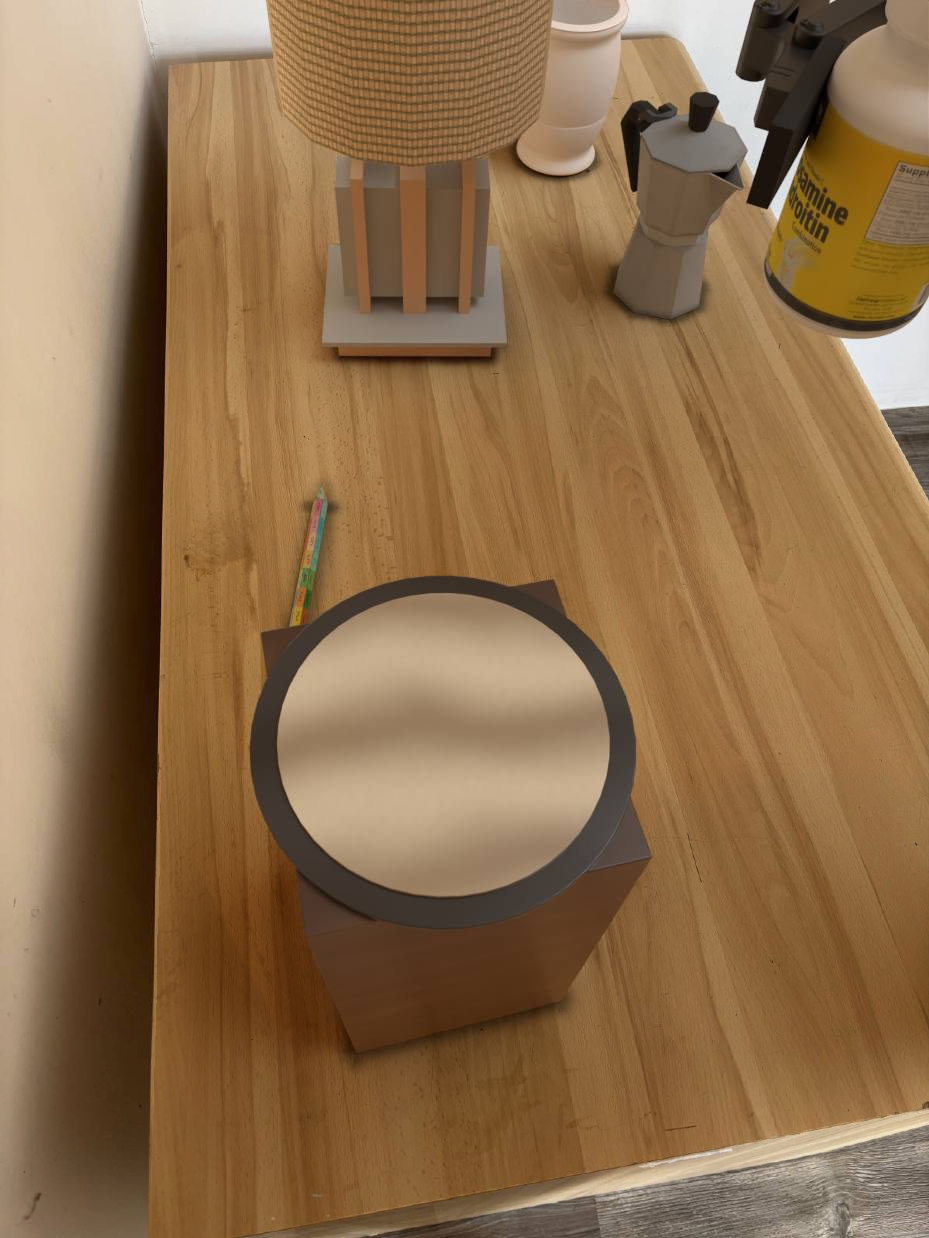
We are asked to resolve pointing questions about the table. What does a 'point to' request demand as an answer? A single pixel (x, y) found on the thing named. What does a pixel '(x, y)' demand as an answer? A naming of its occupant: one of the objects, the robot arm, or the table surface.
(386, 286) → the desk lamp
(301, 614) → the pencil
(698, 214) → the coffee maker
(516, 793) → the tall brown block
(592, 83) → the jar
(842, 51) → the robot arm
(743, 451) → the table surface
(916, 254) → the pill bottle
